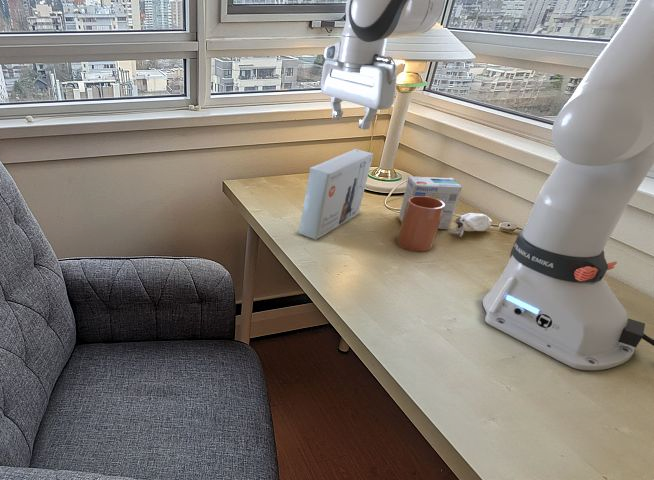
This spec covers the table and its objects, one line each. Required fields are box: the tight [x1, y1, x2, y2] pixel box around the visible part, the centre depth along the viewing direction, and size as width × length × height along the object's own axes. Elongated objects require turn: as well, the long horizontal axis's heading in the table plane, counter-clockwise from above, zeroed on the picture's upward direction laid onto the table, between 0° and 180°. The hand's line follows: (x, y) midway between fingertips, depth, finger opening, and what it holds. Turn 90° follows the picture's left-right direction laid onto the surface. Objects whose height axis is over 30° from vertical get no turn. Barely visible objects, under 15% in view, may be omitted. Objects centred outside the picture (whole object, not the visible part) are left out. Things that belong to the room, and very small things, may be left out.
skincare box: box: [298, 148, 374, 240], centre depth 112 cm, size 21×5×16 cm, turn 137°
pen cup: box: [396, 196, 445, 252], centre depth 105 cm, size 7×7×10 cm
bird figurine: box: [449, 212, 495, 238], centre depth 111 cm, size 5×7×10 cm
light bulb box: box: [398, 175, 463, 230], centre depth 114 cm, size 11×7×11 cm, turn 84°
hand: (349, 123), depth 103 cm, fingers open, 8 cm apart
